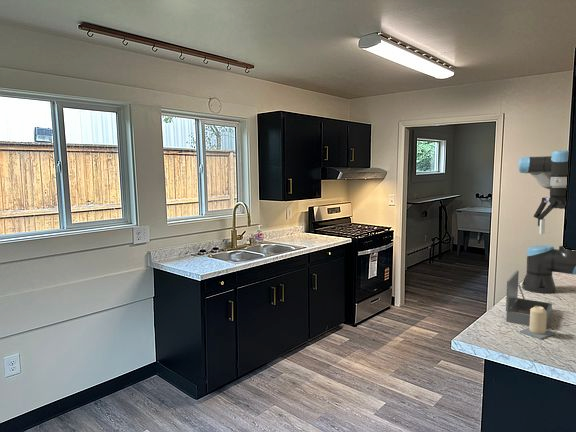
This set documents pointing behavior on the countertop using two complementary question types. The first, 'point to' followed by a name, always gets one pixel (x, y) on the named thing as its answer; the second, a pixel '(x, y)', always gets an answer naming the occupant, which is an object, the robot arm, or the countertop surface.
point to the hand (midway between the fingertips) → (557, 235)
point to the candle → (538, 320)
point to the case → (521, 303)
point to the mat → (538, 336)
